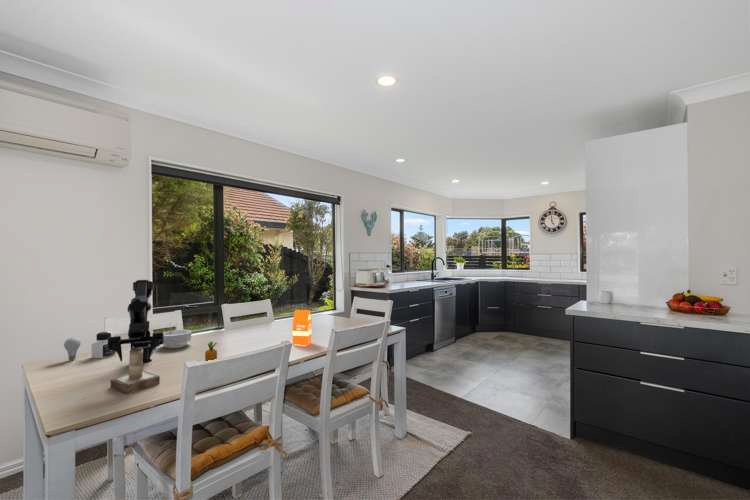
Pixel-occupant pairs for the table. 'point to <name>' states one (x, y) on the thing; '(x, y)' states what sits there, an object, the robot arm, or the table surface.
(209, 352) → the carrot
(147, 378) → the square tray
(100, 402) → the table surface
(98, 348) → the medicine bottle
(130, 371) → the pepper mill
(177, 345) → the paper bowls
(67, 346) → the lightbulb
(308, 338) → the orange juice
